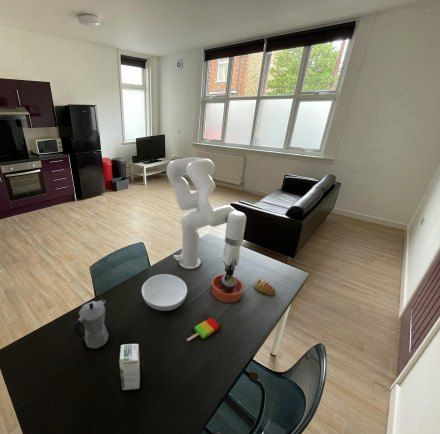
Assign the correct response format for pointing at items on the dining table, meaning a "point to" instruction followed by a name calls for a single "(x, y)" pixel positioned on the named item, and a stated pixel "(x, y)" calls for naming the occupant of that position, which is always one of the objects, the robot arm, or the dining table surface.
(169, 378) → the dining table surface
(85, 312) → the coffeepot
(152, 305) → the serving bowl
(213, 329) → the popsicle
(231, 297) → the terracotta bowl
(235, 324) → the dining table surface
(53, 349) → the dining table surface
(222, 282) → the mate gourd
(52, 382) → the dining table surface
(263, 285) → the pastry
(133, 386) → the syrup box
